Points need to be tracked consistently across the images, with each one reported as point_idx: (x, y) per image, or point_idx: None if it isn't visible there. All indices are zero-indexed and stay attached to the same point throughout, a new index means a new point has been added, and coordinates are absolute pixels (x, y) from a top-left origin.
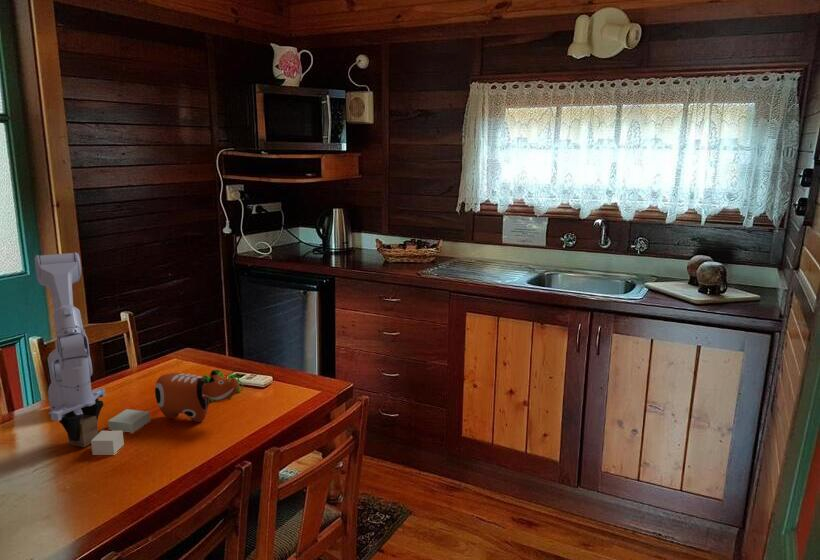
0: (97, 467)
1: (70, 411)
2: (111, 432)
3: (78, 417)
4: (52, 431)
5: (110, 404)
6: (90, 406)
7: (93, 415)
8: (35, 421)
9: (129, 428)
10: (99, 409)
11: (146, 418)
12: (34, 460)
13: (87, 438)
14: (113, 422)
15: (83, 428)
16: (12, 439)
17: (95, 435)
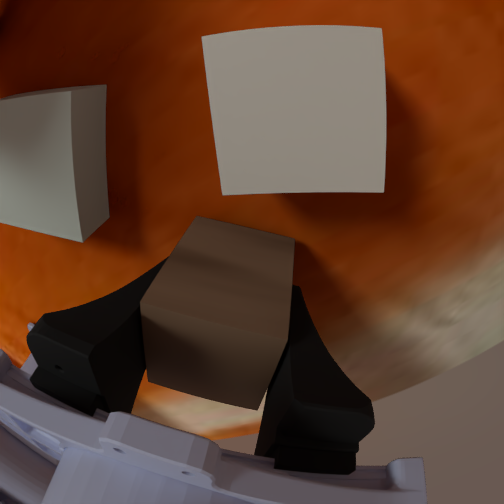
0: (470, 88)
1: (348, 487)
2: (243, 102)
3: (335, 405)
4: None
5: (9, 298)
6: (110, 384)
7: (137, 320)
8: (149, 415)
9: (90, 106)
10: (86, 315)
11: (12, 96)
12: (374, 356)
13: (264, 252)
14: (80, 210)
15: (279, 307)
16: (242, 429)
17: (207, 233)
